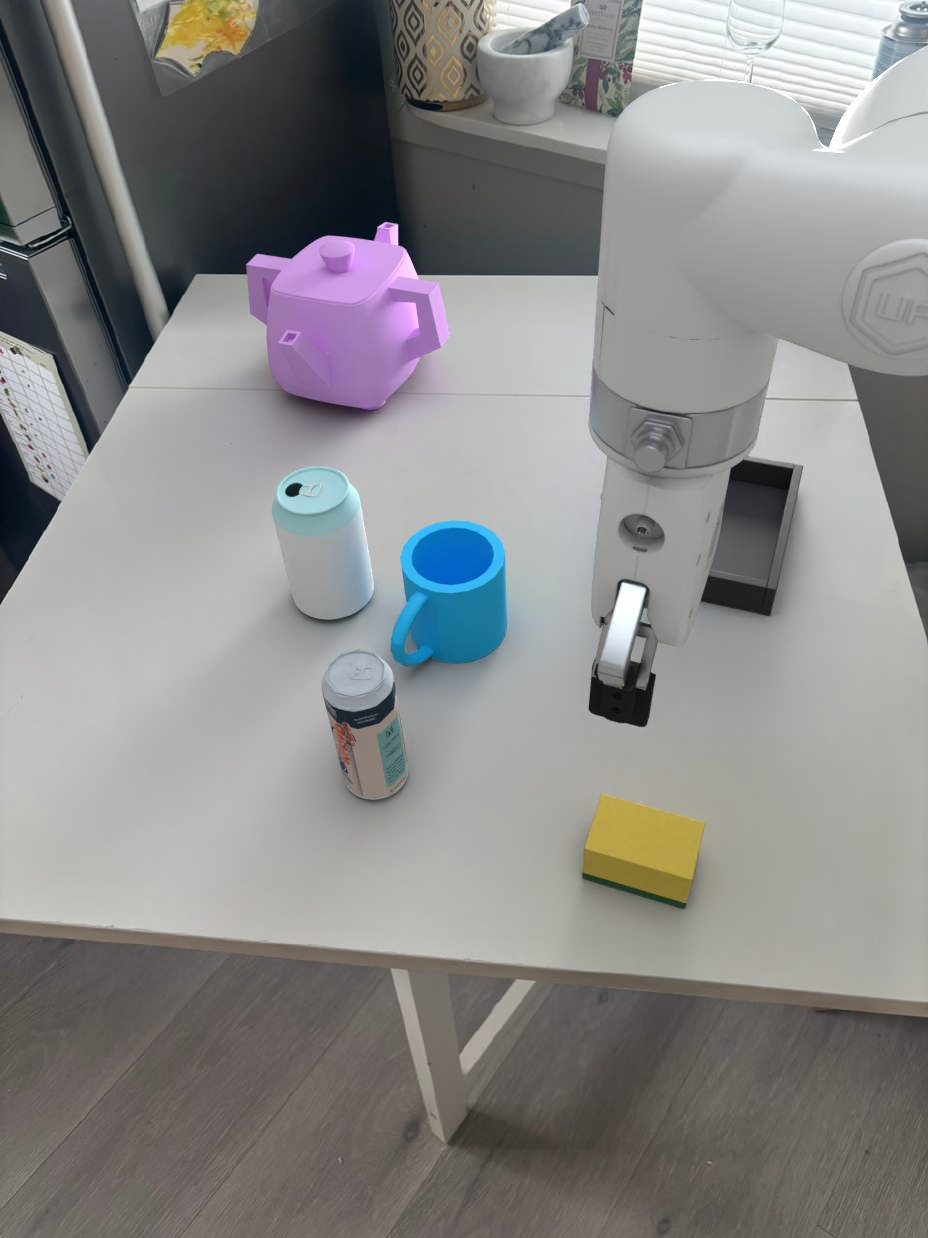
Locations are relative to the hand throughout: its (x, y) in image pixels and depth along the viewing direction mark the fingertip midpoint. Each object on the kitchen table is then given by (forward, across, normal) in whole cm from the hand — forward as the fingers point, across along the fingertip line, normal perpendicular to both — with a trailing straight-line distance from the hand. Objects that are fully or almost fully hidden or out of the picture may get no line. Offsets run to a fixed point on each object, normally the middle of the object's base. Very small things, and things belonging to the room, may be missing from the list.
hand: (640, 651), depth 56 cm
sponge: (+18, -3, -2) cm, 19 cm away
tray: (+18, +31, 0) cm, 36 cm away
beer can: (+19, -2, +18) cm, 26 cm away
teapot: (+19, +45, +41) cm, 64 cm away
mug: (+19, +12, +18) cm, 28 cm away
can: (+19, +14, +29) cm, 37 cm away
